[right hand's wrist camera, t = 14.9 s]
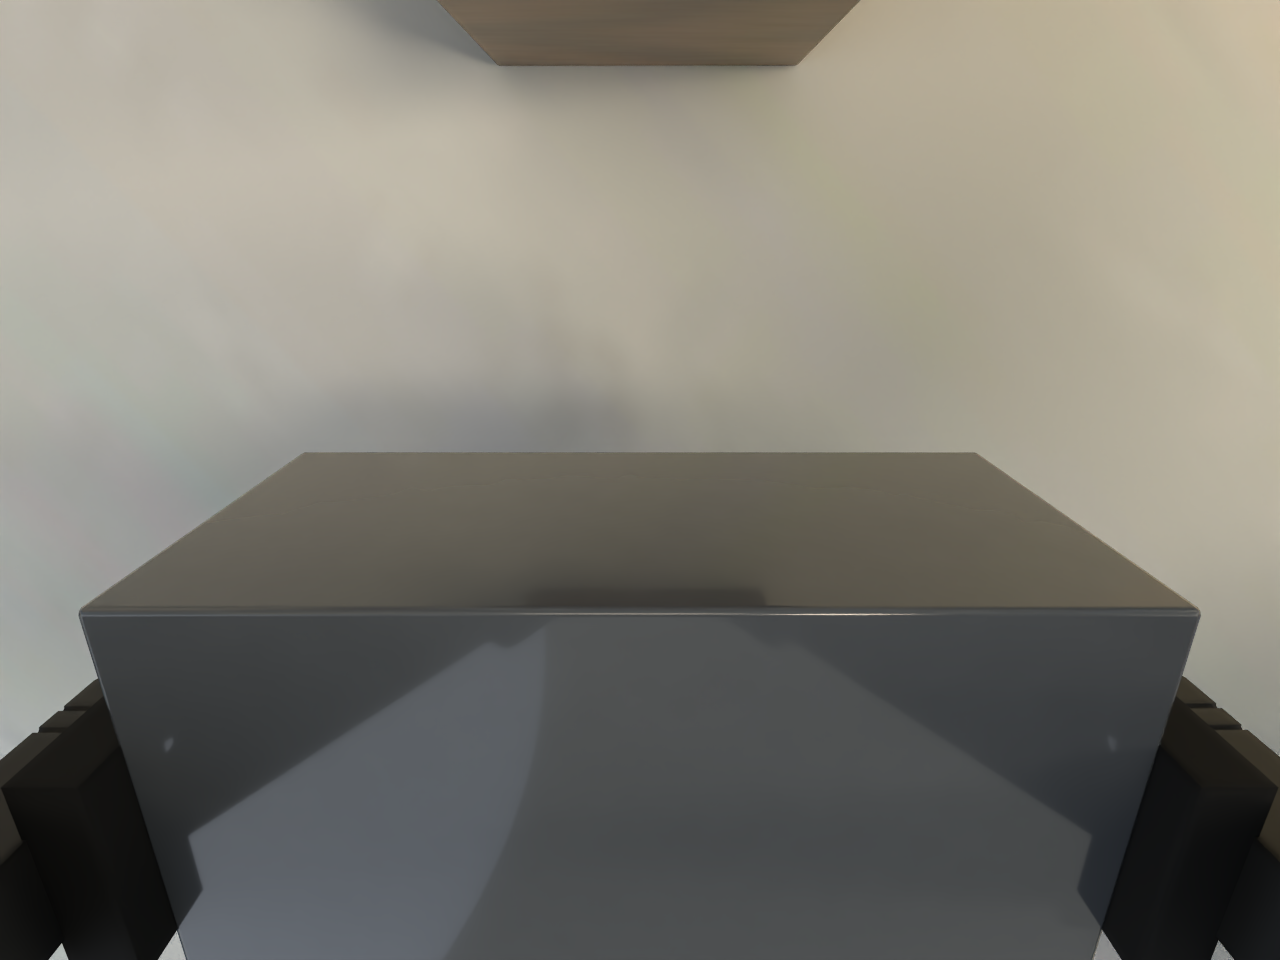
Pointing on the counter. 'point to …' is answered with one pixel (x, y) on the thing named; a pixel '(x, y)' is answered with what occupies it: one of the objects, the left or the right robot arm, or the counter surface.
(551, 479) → the grey block
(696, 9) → the walnut stand
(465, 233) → the counter surface
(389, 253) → the counter surface
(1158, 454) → the counter surface
